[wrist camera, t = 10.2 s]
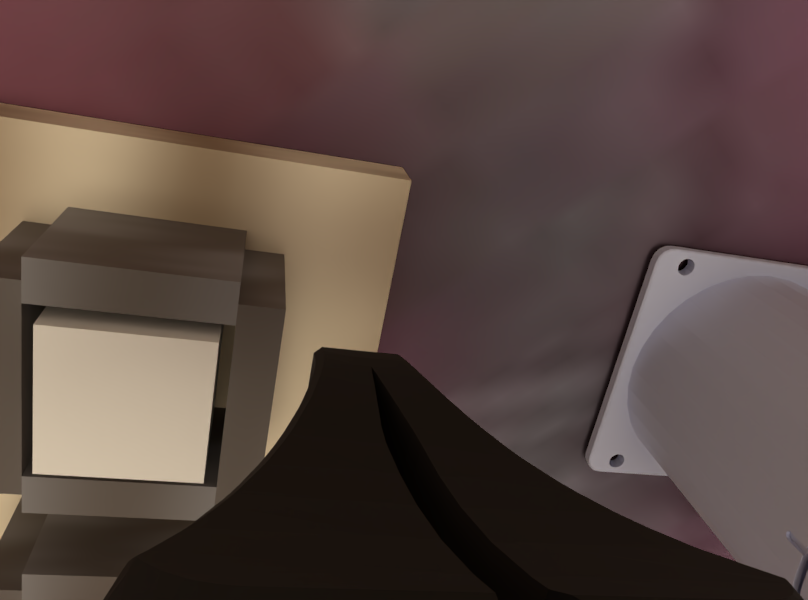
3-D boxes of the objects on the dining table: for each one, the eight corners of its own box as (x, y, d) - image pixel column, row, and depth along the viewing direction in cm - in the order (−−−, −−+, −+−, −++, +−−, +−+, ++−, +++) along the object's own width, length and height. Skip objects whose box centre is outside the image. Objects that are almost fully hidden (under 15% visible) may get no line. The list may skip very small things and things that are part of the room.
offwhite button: (227, 288, 18) (219, 342, 15) (213, 413, 19) (203, 483, 16) (71, 270, 17) (33, 324, 14) (68, 401, 18) (32, 473, 16)
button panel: (402, 167, 20) (439, 221, 15) (279, 797, 29) (280, 946, 25) (-91, 88, 17) (-224, 125, 13) (-50, 810, 26) (-117, 980, 22)
